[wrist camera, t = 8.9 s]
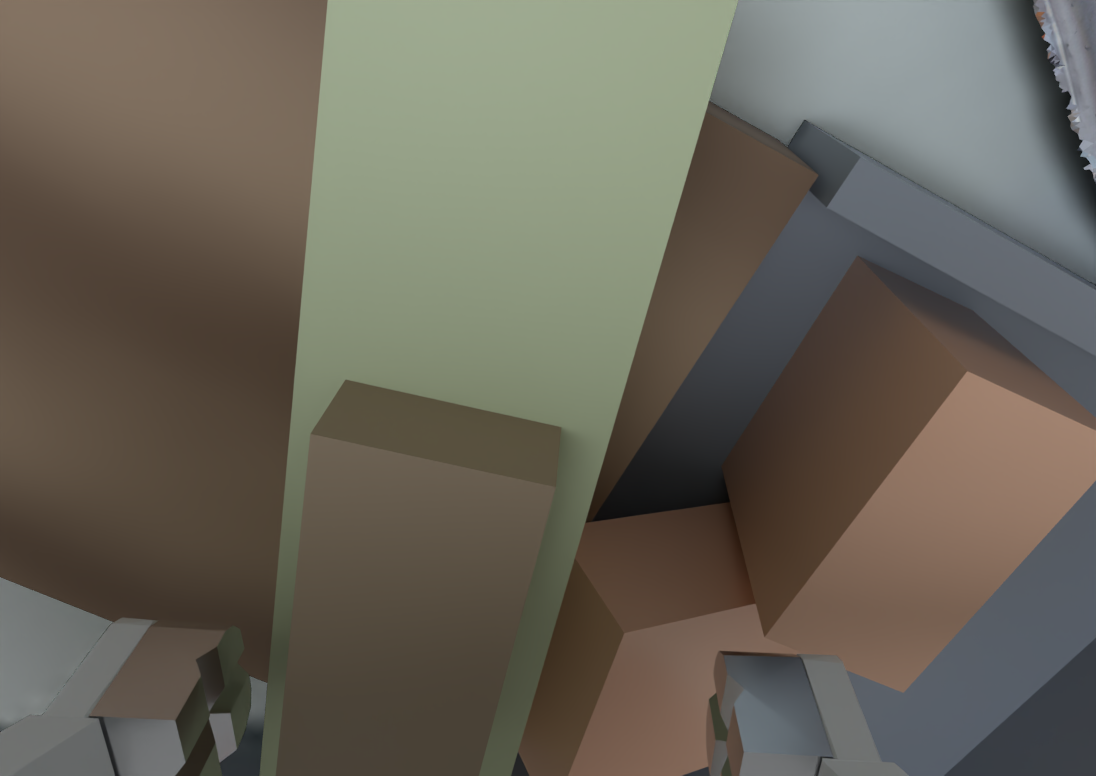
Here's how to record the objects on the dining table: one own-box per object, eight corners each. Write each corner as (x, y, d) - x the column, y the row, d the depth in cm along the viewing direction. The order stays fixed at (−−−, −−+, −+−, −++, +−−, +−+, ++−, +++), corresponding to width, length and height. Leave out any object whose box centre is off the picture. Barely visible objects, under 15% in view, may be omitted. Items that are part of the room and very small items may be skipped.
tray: (878, 840, 23) (923, 977, 20) (460, 667, 21) (435, 788, 18) (1339, 423, 16) (1513, 527, 13) (804, 119, 15) (860, 157, 11)
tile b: (721, 466, 17) (825, 510, 17) (764, 637, 13) (903, 692, 13) (857, 255, 15) (972, 310, 15) (967, 371, 10) (1127, 445, 11)
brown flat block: (461, 651, 21) (440, 751, 18) (-196, 376, 18) (-336, 444, 15) (779, 140, 15) (818, 175, 12) (-128, -368, 12) (-332, -468, 10)
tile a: (688, 660, 19) (752, 750, 18) (498, 709, 17) (550, 819, 15) (764, 497, 17) (847, 582, 15) (554, 527, 15) (624, 633, 13)
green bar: (495, 712, 17) (452, 1019, 12) (331, 679, 17) (217, 975, 12) (688, -9, 11) (764, -4, 6) (435, -72, 11) (288, -123, 6)
